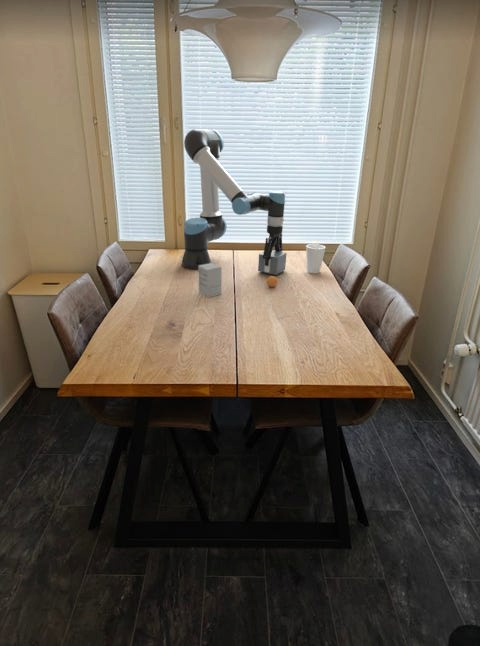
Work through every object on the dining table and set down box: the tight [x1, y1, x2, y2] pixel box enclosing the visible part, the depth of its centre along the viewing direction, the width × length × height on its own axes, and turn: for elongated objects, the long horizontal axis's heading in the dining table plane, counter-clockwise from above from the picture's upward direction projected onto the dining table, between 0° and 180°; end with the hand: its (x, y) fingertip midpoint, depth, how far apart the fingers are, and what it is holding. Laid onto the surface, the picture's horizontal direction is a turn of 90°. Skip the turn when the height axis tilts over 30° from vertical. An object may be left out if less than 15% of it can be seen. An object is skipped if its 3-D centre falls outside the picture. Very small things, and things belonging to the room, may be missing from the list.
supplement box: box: [198, 262, 222, 298], centre depth 190 cm, size 7×7×13 cm
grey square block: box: [257, 249, 287, 276], centre depth 219 cm, size 10×10×9 cm
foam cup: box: [305, 243, 326, 274], centre depth 222 cm, size 10×9×13 cm
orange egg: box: [266, 275, 278, 288], centre depth 201 cm, size 5×5×5 cm
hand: (271, 268), depth 221 cm, fingers closed on grey square block, 10 cm apart
